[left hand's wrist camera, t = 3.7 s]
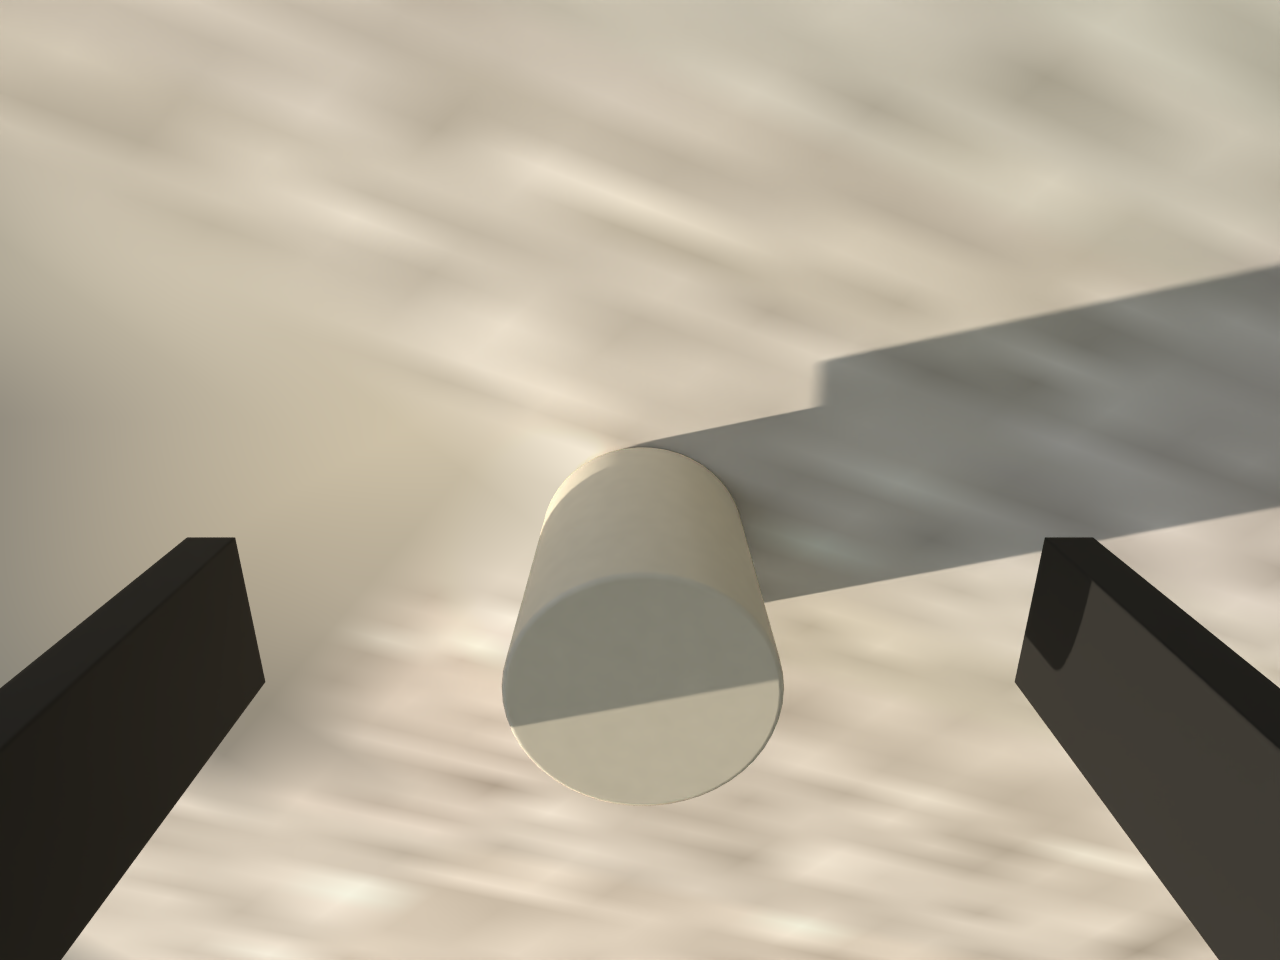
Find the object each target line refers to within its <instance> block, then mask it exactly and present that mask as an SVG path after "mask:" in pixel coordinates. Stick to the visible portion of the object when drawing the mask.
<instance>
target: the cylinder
mask: <svg viewBox="0 0 1280 960" xmlns="http://www.w3.org/2000/svg"><path fill="white" fill-rule="evenodd" d="M783 693H784V683H783V672H782V667H781V663H780V659H779V655H778V651H777V648H776V644H775V641H774V637H773V633H772V630H771V626H770V623H769V619H768V615H767V612H766V608H765V605H764V601H763V598H762V594H761V590H760V587H759V583H758V580H757V576H756V573H755V569H754V565H753V562H752V558H751V555H750V551H749V547H748V544H747V540H746V537H745V533H744V530H743V526H742V522H741V519H740V515H739V512H738V509H737V507H736V504H735V502H734V500H733V498H732V496H731V495H730V493H729V491H728V490H727V489H726V487H725V486H724V485H723V483H722V482H721V481H720V480H719V479H718V478H717V477H716V476H715V475H714V474H713V473H712V472H711V471H709V470H708V469H707V468H705V467H704V466H703V465H701V464H700V463H698V462H696V461H694V460H693V459H691V458H689V457H686V456H684V455H681V454H679V453H676V452H672V451H668V450H665V449H658V448H649V447H636V448H627V449H621V450H617V451H613V452H609V453H606V454H604V455H601V456H599V457H596V458H594V459H593V460H591V461H589V462H587V463H585V464H584V465H582V466H581V467H580V468H578V469H577V470H576V471H574V472H573V473H572V474H571V475H570V476H569V477H568V478H567V479H566V480H565V481H564V482H563V484H562V485H561V486H560V487H559V489H558V490H557V492H556V493H555V495H554V497H553V498H552V500H551V502H550V505H549V507H548V510H547V512H546V516H545V520H544V523H543V527H542V530H541V534H540V538H539V541H538V545H537V549H536V552H535V556H534V560H533V563H532V567H531V570H530V574H529V578H528V581H527V585H526V589H525V592H524V596H523V600H522V603H521V607H520V610H519V614H518V618H517V621H516V625H515V629H514V632H513V636H512V640H511V643H510V647H509V650H508V654H507V658H506V662H505V666H504V670H503V679H502V696H503V704H504V709H505V713H506V717H507V719H508V722H509V724H510V727H511V729H512V732H513V734H514V736H515V738H516V739H517V741H518V743H519V744H520V746H521V748H522V749H523V750H524V751H525V753H526V754H527V755H528V757H529V758H530V759H531V760H532V761H533V762H534V763H535V764H536V765H537V766H538V767H539V768H540V769H541V770H542V771H544V772H545V773H546V774H548V775H549V776H550V777H551V778H553V779H554V780H556V781H557V782H559V783H561V784H562V785H564V786H566V787H567V788H569V789H572V790H574V791H576V792H578V793H580V794H583V795H585V796H588V797H592V798H595V799H598V800H601V801H606V802H611V803H615V804H624V805H633V806H652V805H663V804H670V803H675V802H680V801H685V800H688V799H691V798H694V797H698V796H701V795H703V794H705V793H708V792H710V791H712V790H714V789H716V788H718V787H720V786H722V785H723V784H725V783H727V782H729V781H730V780H732V779H733V778H734V777H736V776H737V775H738V774H740V773H741V772H742V771H743V770H745V769H746V768H747V767H748V766H749V765H750V764H751V763H752V762H753V761H754V760H755V759H756V757H757V756H758V755H759V754H760V752H761V751H762V750H763V749H764V747H765V746H766V744H767V742H768V741H769V739H770V737H771V736H772V733H773V731H774V729H775V726H776V724H777V722H778V719H779V716H780V712H781V708H782V704H783Z"/></svg>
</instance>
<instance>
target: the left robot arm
mask: <svg viewBox="0 0 1280 960" xmlns="http://www.w3.org/2000/svg"><path fill="white" fill-rule="evenodd" d="M264 683H265V678H264V674H263V669H262V664H261V659H260V654H259V650H258V645H257V640H256V635H255V630H254V626H253V621H252V616H251V611H250V607H249V602H248V597H247V592H246V587H245V583H244V578H243V573H242V568H241V564H240V559H239V554H238V549H237V544H236V540H235V538H186V539H185V540H183V541H182V542H181V543H180V544H178V545H177V546H176V547H175V548H174V549H172V550H171V551H170V552H169V553H167V554H166V555H165V556H164V557H162V558H161V559H160V560H159V561H157V562H156V563H155V564H154V565H152V566H151V567H150V568H149V569H148V570H146V571H145V572H144V573H143V574H141V575H140V576H139V577H138V578H136V579H135V580H134V581H133V582H131V583H130V584H129V585H128V586H127V587H125V588H124V589H123V590H121V591H120V592H119V593H118V594H117V595H115V596H114V597H113V598H112V599H110V600H109V601H108V602H107V603H105V604H104V605H103V606H102V607H100V608H99V609H98V610H97V611H96V612H94V613H93V614H92V615H91V616H89V617H88V618H87V619H86V620H84V621H83V622H82V623H81V624H79V625H78V626H77V627H76V628H74V629H73V630H72V631H71V632H69V633H68V634H67V635H66V636H64V637H63V638H62V639H61V640H60V641H58V642H57V643H56V644H55V645H53V646H52V647H51V648H50V649H48V650H47V651H46V652H45V653H43V654H42V655H41V656H40V657H38V658H37V659H36V660H35V661H34V662H32V663H31V664H30V665H29V666H27V667H26V668H25V669H24V670H22V671H21V672H20V673H19V674H17V675H16V676H15V677H14V678H13V679H11V680H10V681H9V682H8V683H6V684H5V685H4V686H3V687H1V688H0V960H61V959H62V958H63V957H64V955H65V954H66V952H67V951H68V950H69V948H70V947H71V946H72V944H73V943H74V942H75V940H76V939H77V937H78V936H79V935H80V933H81V932H82V931H83V929H84V928H85V927H86V925H87V924H88V923H89V921H90V920H91V918H92V917H93V916H94V914H95V913H96V912H97V910H98V909H99V908H100V906H101V905H102V903H103V902H104V901H105V899H106V898H107V897H108V895H109V894H110V893H111V891H112V890H113V888H114V887H115V886H116V884H117V883H118V882H119V880H120V879H121V878H122V876H123V875H124V874H125V872H126V871H127V869H128V868H129V867H130V865H131V864H132V863H133V861H134V860H135V859H136V857H137V856H138V854H139V853H140V852H141V850H142V849H143V848H144V846H145V845H146V844H147V842H148V841H149V839H150V838H151V837H152V835H153V834H154V833H155V831H156V830H157V829H158V827H159V826H160V825H161V823H162V822H163V820H164V819H165V818H166V816H167V815H168V814H169V812H170V811H171V810H172V808H173V807H174V805H175V804H176V803H177V801H178V800H179V799H180V797H181V796H182V795H183V793H184V792H185V791H186V789H187V788H188V786H189V785H190V784H191V782H192V781H193V780H194V778H195V777H196V776H197V774H198V773H199V771H200V770H201V769H202V767H203V766H204V765H205V763H206V762H207V761H208V759H209V758H210V756H211V755H212V754H213V752H214V751H215V750H216V748H217V747H218V746H219V744H220V743H221V742H222V740H223V739H224V737H225V736H226V735H227V733H228V732H229V731H230V729H231V728H232V727H233V725H234V724H235V722H236V721H237V720H238V718H239V717H240V716H241V714H242V713H243V712H244V710H245V709H246V708H247V706H248V705H249V703H250V702H251V701H252V699H253V698H254V697H255V695H256V694H257V693H258V691H259V690H260V688H261V687H262V686H263V684H264ZM1015 683H1016V684H1017V686H1018V687H1019V688H1020V690H1021V691H1022V692H1023V694H1024V695H1025V697H1026V698H1027V699H1028V701H1029V702H1030V703H1031V705H1032V706H1033V707H1034V709H1035V710H1036V712H1037V713H1038V714H1039V716H1040V717H1041V718H1042V720H1043V721H1044V722H1045V724H1046V725H1047V727H1048V728H1049V729H1050V731H1051V732H1052V733H1053V735H1054V736H1055V737H1056V739H1057V740H1058V741H1059V743H1060V744H1061V746H1062V747H1063V748H1064V750H1065V751H1066V752H1067V754H1068V755H1069V756H1070V758H1071V759H1072V761H1073V762H1074V763H1075V765H1076V766H1077V767H1078V769H1079V770H1080V771H1081V773H1082V774H1083V775H1084V777H1085V778H1086V780H1087V781H1088V782H1089V784H1090V785H1091V786H1092V788H1093V789H1094V790H1095V792H1096V793H1097V795H1098V796H1099V797H1100V799H1101V800H1102V801H1103V803H1104V804H1105V805H1106V807H1107V808H1108V810H1109V811H1110V812H1111V814H1112V815H1113V816H1114V818H1115V819H1116V820H1117V822H1118V823H1119V824H1120V826H1121V827H1122V829H1123V830H1124V831H1125V833H1126V834H1127V835H1128V837H1129V838H1130V839H1131V841H1132V842H1133V844H1134V845H1135V846H1136V848H1137V849H1138V850H1139V852H1140V853H1141V854H1142V856H1143V857H1144V859H1145V860H1146V861H1147V863H1148V864H1149V865H1150V867H1151V868H1152V869H1153V871H1154V872H1155V873H1156V875H1157V876H1158V878H1159V879H1160V880H1161V882H1162V883H1163V884H1164V886H1165V887H1166V888H1167V890H1168V891H1169V893H1170V894H1171V895H1172V897H1173V898H1174V899H1175V901H1176V902H1177V903H1178V905H1179V906H1180V907H1181V909H1182V910H1183V912H1184V913H1185V914H1186V916H1187V917H1188V918H1189V920H1190V921H1191V922H1192V924H1193V925H1194V927H1195V928H1196V929H1197V931H1198V932H1199V933H1200V935H1201V936H1202V937H1203V939H1204V940H1205V942H1206V943H1207V944H1208V946H1209V947H1210V948H1211V950H1212V951H1213V952H1214V954H1215V955H1216V956H1217V958H1218V959H1219V960H1280V688H1279V687H1277V686H1276V685H1275V684H1274V683H1273V682H1271V681H1270V680H1269V679H1268V678H1266V677H1265V676H1264V675H1263V674H1261V673H1260V672H1259V671H1258V670H1256V669H1255V668H1254V667H1253V666H1251V665H1250V664H1249V663H1248V662H1247V661H1245V660H1244V659H1243V658H1242V657H1240V656H1239V655H1238V654H1237V653H1235V652H1234V651H1233V650H1232V649H1230V648H1229V647H1228V646H1227V645H1225V644H1224V643H1223V642H1222V641H1220V640H1219V639H1218V638H1217V637H1216V636H1214V635H1213V634H1212V633H1211V632H1209V631H1208V630H1207V629H1206V628H1204V627H1203V626H1202V625H1201V624H1199V623H1198V622H1197V621H1196V620H1194V619H1193V618H1192V617H1191V616H1190V615H1188V614H1187V613H1186V612H1185V611H1183V610H1182V609H1181V608H1180V607H1178V606H1177V605H1176V604H1175V603H1173V602H1172V601H1171V600H1170V599H1168V598H1167V597H1166V596H1165V595H1163V594H1162V593H1161V592H1160V591H1159V590H1157V589H1156V588H1155V587H1154V586H1152V585H1151V584H1150V583H1149V582H1147V581H1146V580H1145V579H1144V578H1142V577H1141V576H1140V575H1139V574H1137V573H1136V572H1135V571H1134V570H1133V569H1131V568H1130V567H1129V566H1128V565H1126V564H1125V563H1124V562H1123V561H1121V560H1120V559H1119V558H1118V557H1116V556H1115V555H1114V554H1113V553H1111V552H1110V551H1109V550H1108V549H1106V548H1105V547H1104V546H1103V545H1102V544H1100V543H1099V542H1098V541H1097V540H1095V539H1094V538H1045V540H1044V545H1043V549H1042V554H1041V559H1040V564H1039V569H1038V573H1037V578H1036V583H1035V588H1034V592H1033V597H1032V602H1031V607H1030V612H1029V616H1028V621H1027V626H1026V631H1025V635H1024V640H1023V645H1022V650H1021V655H1020V659H1019V664H1018V669H1017V674H1016V678H1015Z"/></svg>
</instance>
